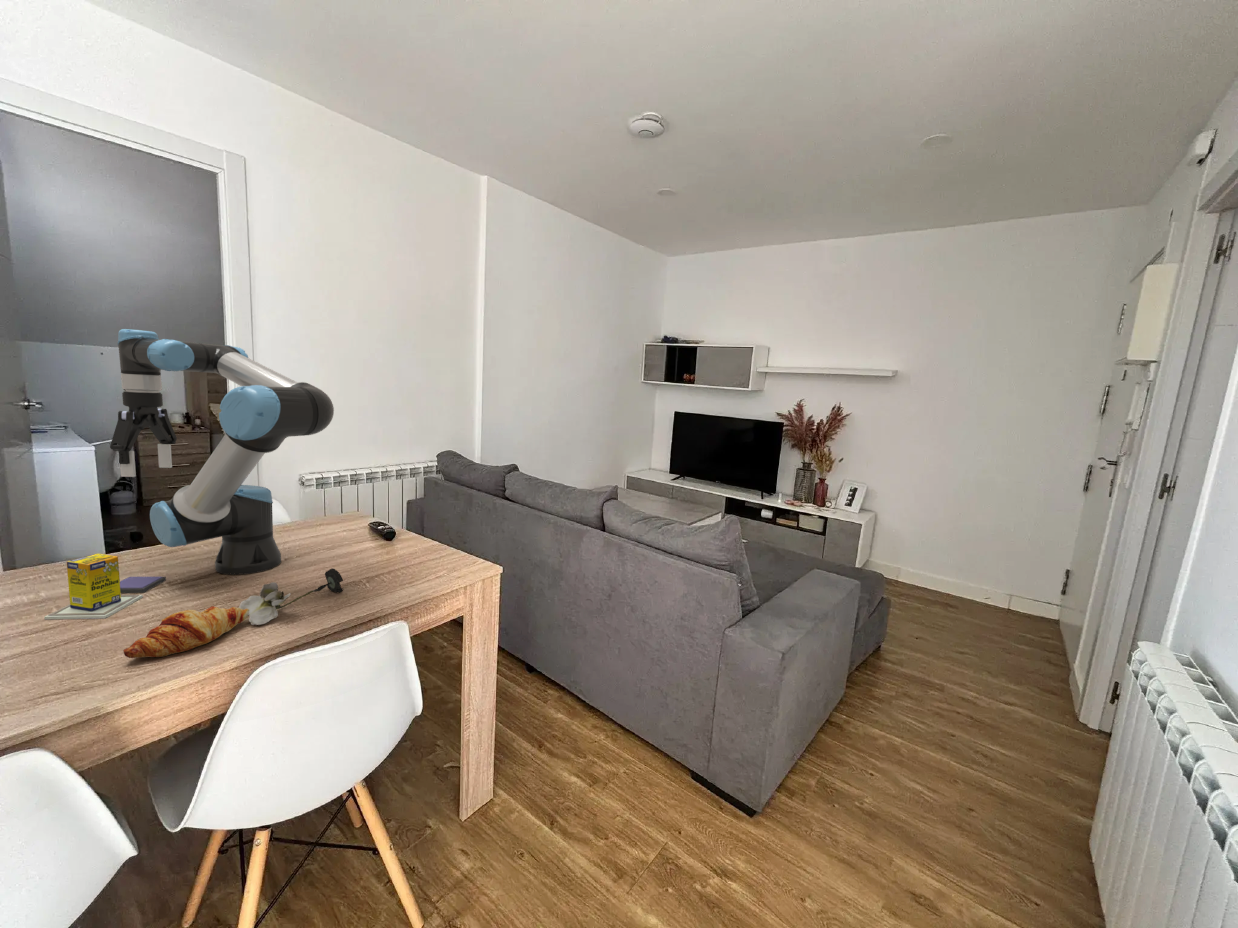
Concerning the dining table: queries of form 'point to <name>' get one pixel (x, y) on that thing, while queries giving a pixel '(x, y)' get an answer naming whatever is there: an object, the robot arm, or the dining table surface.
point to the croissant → (186, 631)
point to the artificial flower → (281, 598)
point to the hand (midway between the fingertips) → (148, 471)
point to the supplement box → (93, 582)
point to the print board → (96, 614)
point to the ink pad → (139, 584)
